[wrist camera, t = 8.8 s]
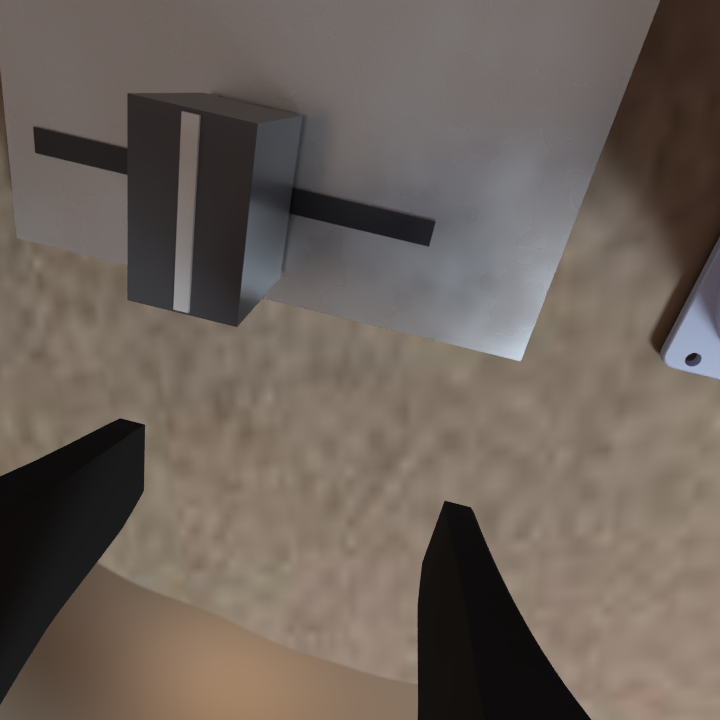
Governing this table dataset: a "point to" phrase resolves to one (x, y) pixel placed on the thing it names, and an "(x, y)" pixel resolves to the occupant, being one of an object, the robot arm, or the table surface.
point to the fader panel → (344, 138)
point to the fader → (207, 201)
